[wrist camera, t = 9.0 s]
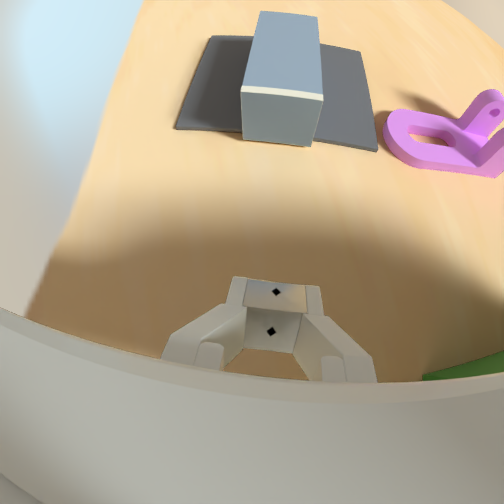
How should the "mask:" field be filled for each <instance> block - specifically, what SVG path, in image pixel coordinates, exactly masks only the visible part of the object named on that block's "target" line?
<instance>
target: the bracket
mask: <svg viewBox="0 0 504 504" xmlns="http://www.w3.org/2000/svg"><path fill="white" fill-rule="evenodd" d="M503 119H504V97H503V96H502V94H501V93H500V92H499V91H498V90H494V89H489V90H485V91H483V92H481V93H480V94H479V95H478V96H477V97H476V98H475V99H474V101H473V102H472V103H471V105H470V106H469V107H468V109H467V110H466V111H465V112H464V114H463V115H462V116H461V117H460V118H459V119H451V118H447V117H443V116H438V115H433V114H429V113H423V112H418V111H413V110H407V109H398V110H395V111H393V112H391V113H390V115H389V116H388V118H387V120H386V122H385V124H384V126H383V138H384V140H385V143H386V145H387V146H388V148H389V149H390V151H391V152H392V153H393V154H394V155H395V156H396V157H397V158H398V159H400V160H401V161H402V162H404V163H405V164H407V165H409V166H412V167H415V168H419V169H429V170H439V171H447V172H456V173H463V174H471V175H478V176H484V177H490V178H496V177H497V176H498V175H500V174H501V173H502V172H503V171H504V128H502V129H501V130H499V131H498V132H497V133H496V134H495V135H494V136H493V137H492V138H491V139H490V140H488V138H487V137H488V136H489V135H490V134H491V132H492V131H493V130H494V129H495V128H496V127H497V126H498V125H499V124H500V123H501V122H502V121H503ZM408 133H409V134H416V135H423V136H429V137H435V138H440V139H443V140H444V141H445V142H446V143H447V144H448V146H449V147H447V146H441V145H435V144H428V143H421V142H417V141H415V140H414V139H412V138H411V137H410V135H409V134H408Z"/></svg>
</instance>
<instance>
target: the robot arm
mask: <svg viewBox="0 0 504 504" xmlns="http://www.w3.org/2000/svg"><path fill="white" fill-rule="evenodd" d="M243 348H248V349H258V350H268V351H275V352H283V353H291V354H292V355H293V356H294V358H295V359H296V361H297V363H298V364H299V366H300V367H301V369H302V370H303V372H304V373H305V375H306V376H307V378H308V379H309V380H295V379H283V378H273V377H264V376H255V375H247V374H240V373H233V372H226V371H223V368H224V367H225V366H226V365H227V364H228V363H229V362H230V361H232V360H233V359H234V358H235V357H236V356H237V355H238V354H239V353H240V352H241V351H242V350H243ZM0 504H504V372H501V373H495V374H488V375H481V376H474V377H465V378H456V379H446V380H433V381H418V382H394V383H378V381H377V377H376V372H375V368H374V364H373V360H372V357H371V356H370V355H369V354H368V353H367V352H366V351H365V350H364V349H363V348H362V347H361V346H360V345H358V344H357V343H356V342H355V341H354V340H353V339H352V338H351V337H350V336H349V335H348V334H347V333H346V332H345V331H344V330H343V329H342V328H341V327H339V326H338V325H337V324H336V323H335V322H334V321H333V320H332V319H331V318H330V317H329V316H324V310H323V303H322V297H321V291H320V287H319V286H314V285H299V284H289V283H279V282H274V281H267V280H260V279H254V278H247V277H239V276H233V278H232V281H231V285H230V288H229V292H228V295H227V299H226V302H225V304H222V303H221V304H219V305H217V306H216V307H214V308H213V309H211V310H209V311H208V312H206V313H205V314H203V315H201V316H200V317H198V318H196V319H195V320H193V321H192V322H190V323H188V324H187V325H185V326H183V327H182V328H180V329H178V330H177V331H175V332H174V333H172V334H171V335H170V337H169V339H168V342H167V344H166V346H165V348H164V351H163V353H162V355H161V358H160V359H157V358H153V357H148V356H144V355H140V354H136V353H132V352H128V351H124V350H121V349H117V348H113V347H110V346H106V345H103V344H99V343H96V342H92V341H89V340H86V339H83V338H80V337H77V336H73V335H70V334H67V333H64V332H62V331H59V330H56V329H53V328H50V327H47V326H45V325H42V324H39V323H37V322H34V321H32V320H29V319H27V318H24V317H22V316H19V315H17V314H14V313H12V312H9V311H7V310H5V309H3V308H0Z"/></svg>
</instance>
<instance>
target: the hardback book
mask: <svg viewBox="0 0 504 504" xmlns="http://www.w3.org/2000/svg"><path fill="white" fill-rule="evenodd" d="M501 372H504V351H501V352H499V353H496V354H493V355H490V356H487V357H484V358H481V359H478V360H475V361H472V362H468V363H465V364H462V365H458V366H455V367H451V368H447V369H444V370H440V371H436V372H432V373H428V374H423V381H433V380H446V379H456V378H465V377H474V376H481V375H488V374H495V373H501Z"/></svg>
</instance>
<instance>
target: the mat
mask: <svg viewBox="0 0 504 504" xmlns="http://www.w3.org/2000/svg"><path fill="white" fill-rule="evenodd" d="M253 38H254V36H211V39H210V41H209V43H208V45H207V48H206V50H205V52H204V54H203V57H202V59H201V61H200V64H199V66H198V69H197V71H196V74H195V76H194V79H193V81H192V84H191V86H190V89H189V91H188V94H187V97H186V99H185V102H184V105H183V107H182V110H181V113H180V116H179V119H178V122H177V124H176V129H177V130H206V131H225V132H240V133H243V130H242V111H241V87H242V85H243V80H244V76H245V71H246V67H247V63H248V59H249V55H250V50H251V46H252V42H253ZM320 55H321V70H322V89H323V104H322V108H321V112H320V115H319V119H318V123H317V126H316V130H315V134H314V137H313V141H318V142H325V143H331V144H337V145H342V146H348V147H353V148H358V149H364V150H368V151H373V152H377V150H378V144H377V137H376V130H375V123H374V117H373V111H372V105H371V99H370V94H369V89H368V84H367V79H366V74H365V70H364V65H363V61H362V57H361V53H360V52H359V51H355V50H350V49H346V48H341V47H336V46H330V45H325V44H320Z"/></svg>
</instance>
